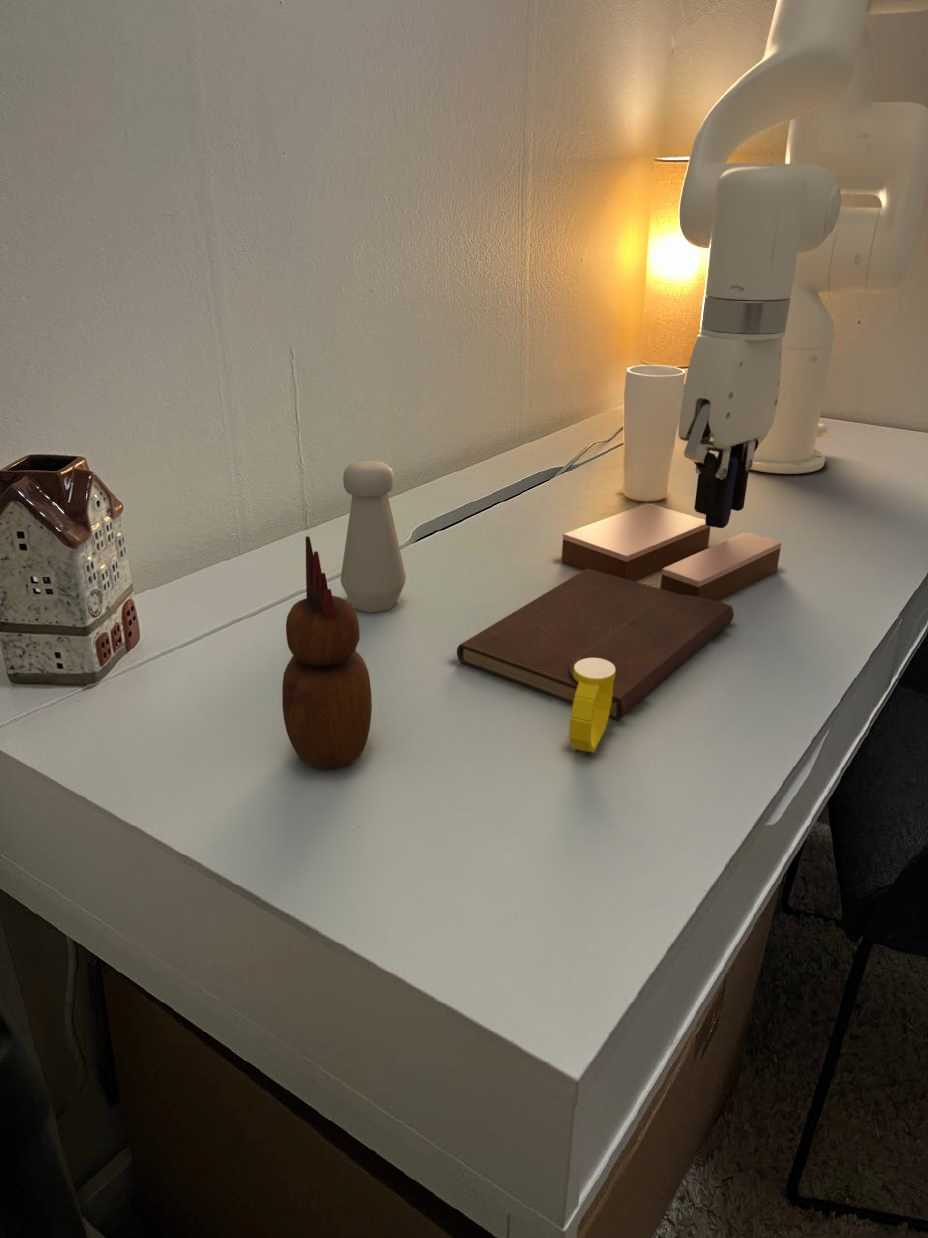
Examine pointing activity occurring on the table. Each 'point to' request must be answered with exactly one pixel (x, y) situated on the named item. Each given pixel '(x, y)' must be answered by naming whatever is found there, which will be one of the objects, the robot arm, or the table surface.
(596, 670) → the watch
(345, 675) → the wooden figurine
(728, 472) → the eraser
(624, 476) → the drinking glass
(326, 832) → the table surface
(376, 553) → the salt shaker
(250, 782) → the table surface
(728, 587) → the brown long rectangular block
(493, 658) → the notebook
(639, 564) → the brown and tan block
